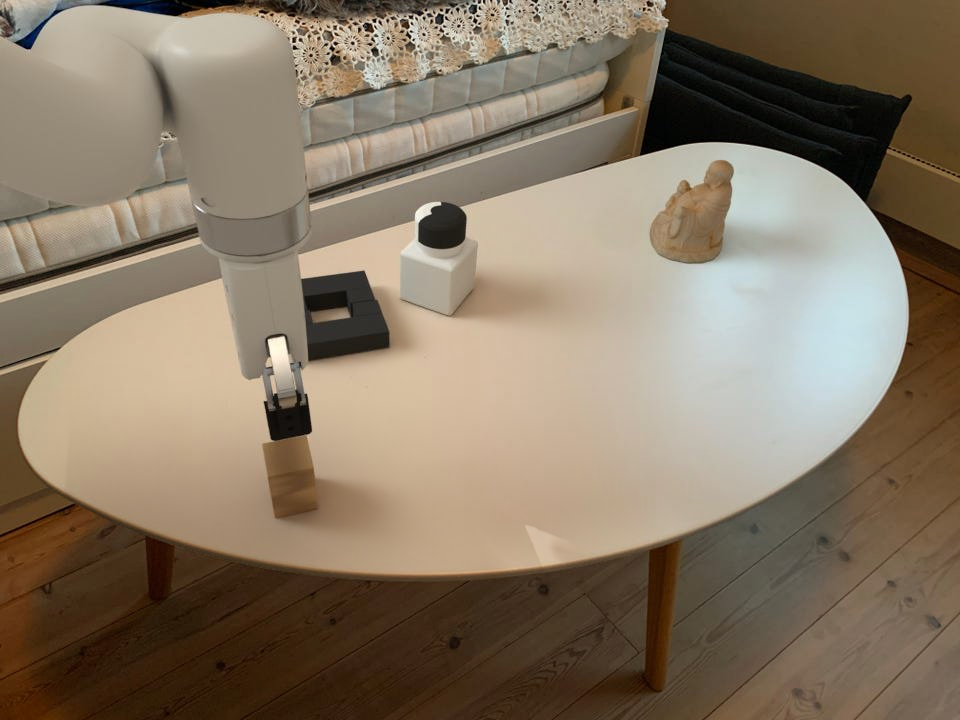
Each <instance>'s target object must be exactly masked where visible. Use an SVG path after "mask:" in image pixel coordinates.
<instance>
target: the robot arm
mask: <svg viewBox="0 0 960 720" xmlns="http://www.w3.org/2000/svg"><path fill="white" fill-rule="evenodd" d="M300 109H301V107H300V100H299V89H298V81H297V70H296V62H295V56H294V50H293V47H292V44H291V41H290V40H289V38H288V36H287V35H286V33H285V32H284V30H283V29H281V28H280V26H279V25H277V24H275V23H274V22H272V21H270V20H268V19H265V18H263V17H260V16H256V15H252V14H251V15H250V14H245V13H238V12H235V13H234V12H217V13H209V14H203V15H197V16H193V17H183V16H173V15H167V14H162V13H161V14H160V13H153V12H147V11H143V10H142V11H141V10H134V9H129V8H123V7H118V6H117V7H116V6H110V5H109V6H108V5H94V4H92V5H91V4H89V5H88V4H87V5H79V6H74V7H71V8H67V9H64V10H62V11H60V12H58V13H57V14H55V15H54V16H52V17H51V18H50V19H49V20H48V21H47V22H46V23H45V24H44V26H42V29H41V30H40V31H39V33H38V34H37V37H36V39H35V41H33V44H32V47H31V48H30V50H29V49H26V48H24V47H23V46H20V45H19V44H17V43H15V42H13V41H11V40H9V39H7V38H5V37H3V36H1V35H0V185H3V186H5V187H8V188H11V189H12V190H15V191H18V192H21V193H22V194H26V195H28V196H31V197H33V198H34V197H35V198H38V199H42V200H45V201H48V202H52V203H57V204H60V205H66V206H74V207H82V208H83V207H86V208H87V207H103V206H107V205H111V204H115V203H118V202H120V201H121V200H125V199H126V198H129V197H130V196H131V195H132V194H133V193H135V192H136V191H137V190H138V189H139V188H141V187H142V185H143V184H144V183H145V181H146V180H147V179H148V177H149V176H150V174H151V172H152V170H153V168H154V165H155V162H156V160H157V155H158V151H159V147H160V142H161V138H162V137H161V136H162V133H170V134H172V135H173V136H174V137H175V138H176V139H177V142H178V146H179V150H180V155H181V159H182V163H183V168H184V172H185V177H186V182H187V186H188V190H189V195H190V201H191V205H192V209H193V215H194V220H195V224H196V228H197V231H198V238H199V241H200V244H201V246H202V247H203V248H204V249H205V250H206V252H208V253H209V254H211V255H212V256H214V257H216V258H218V261H219V268H220V274H221V280H222V285H223V290H224V295H225V299H226V304H227V305H226V306H227V309H228V315H229V319H230V324H231V328H232V333H233V338H234V343H235V348H236V354H237V358H238V363H239V368H240V374H241V376H242V377H244V379H246V380H247V381H252V380H254V379H255V380H256V379H260V378H261V377H262V381H263V386H264V391H265V392H264V393H265V397H266V398H265V399H266V400H263V406H264V411H265V416H266V417H265V418H266V421H267V427H268V433H269V439H270V440H271V442H273V441H279V440H284V439H289V438H294V437H300V436H305V435H306V436H307V435H308V436H309V435H311V434H312V432H313V426H312V425H313V423H312V418H311V411H310V402H309V397H308V393H305V388H304V383H303V377H302V371H304V370H305V369H306V367H307V366H308V365H309V361H308V349H307V334H306V322H305V311H304V301H303V292H302V283H301V279H302V275H301V267H300V258H299V250H300V249H302V248H303V247H304V246H305V245H306V244H307V242H309V241H310V238H311V236H312V233H313V225H312V215H311V205H310V195H309V188H308V187H309V186H308V175H307V167H306V166H307V165H306V159H305V158H306V157H305V149H304V148H305V147H304V139H303V130H302V119H301V110H300ZM291 355H292V356H291ZM290 356H291V359H292V358H293V360H292V362H291V361H290ZM268 359H270V362H271V365H270V366H267V361H268ZM271 376H273V377H274V383H275V388H276V392H275V393H274V391H273V386H272V379H271Z"/></svg>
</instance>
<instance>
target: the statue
mask: <svg viewBox="0 0 960 720" xmlns="http://www.w3.org/2000/svg"><path fill="white" fill-rule="evenodd" d="M734 174H735V169H734V166H733V164H732V163H730V162H729V161H727V160H726V159H717V160H713V161H712V162H710V163H709V166H708V168H707V169H706V171H705V176H704V177H703V182H702V183H699V184H696V185H694V186H693V187H691V184H690V183H689V181H687V180H686V179H683V180H681V181H680V182H679V184H678V185H677V187H676V191H675V192H674V193H672V194H671V195H670V197H669V198H668V200H667V201H666V203H665V206H664V207H665V209H664V210H662V211H659V212H658V214H657V215H656V216H655V217H654V219H653V222H652V223H651V226H650V229H649V238H650V243H651V245H652V247H653V248H654V251H656V253H657V255H660V256H662V257H663V258H666V259H668V260H671V261H676V262H681V263H684V264H686V263H687V264H694V263H697V264H702V263H705V262H710V261H712V260H714V259H716V257H718V256H719V255H720V252H721V251H722V248H723V243H724V233H725V227H726V219H727V216H728V212H729V210H730V207H731V204H732V197H733V185H732V179H733V177H734Z"/></svg>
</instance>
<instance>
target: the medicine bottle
mask: <svg viewBox="0 0 960 720" xmlns="http://www.w3.org/2000/svg"><path fill="white" fill-rule="evenodd" d="M467 221H468V217H467V214H466V212H465V210H463V208H461V207H460V206H458V205H457V204H454V203H452V202H446V201H432V202H428V203H425V204H423V205H421V206H420V207H419V208H418V209H417V210H416V211H415V214H414V238H413V239H412V240H411V241H410V242H409V243H408V244H407V245H406V246H405V247H404V248H403V249H402V250H401V251H400V253H399V299H401V300H402V301H405V302H408V303H411V304H413V305H417V306H418V307H422V308H424V309H428V310H429V311H430V310H431V311H433V312H436V313H439V314H442V315H445V316H446V317H450V316H452V315H453V314H454V313H455V311H456V310H457V309H458V308H459V306H461V304H462V303H463V301H464V300H465V299H466V298H467V296H469V295H470V293H471V291H472V290H473V289H474V288H475V286H476V285H475V284H476V270H477V260H478V246H479V243H478V240H475V239H472V238H469V237H467V223H468V222H467Z"/></svg>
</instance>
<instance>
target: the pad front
mask: <svg viewBox="0 0 960 720" xmlns="http://www.w3.org/2000/svg"><path fill="white" fill-rule="evenodd" d="M352 305H353V317H350V316H349V317H345V318H338V319H331V320H325V321H318V322H314V321H313V318H312V313H311V312H310V310H304V311H305V322H306V334H307V349H308V362H309V361H315V360H321V359H328V358H334V357H340V356H346V355H350V354H357V353H363V352H364V353H365V352H369V351H375V350H380V349H381V350H382V349H388V348H390V329H389V327H388V324H387V321H386V319H385V316H384V314H383V311H382V309H381V306H380V302H379V300H378V299H375V300H371V301H365V302H358V303H353V304H352ZM290 356H291V360H292V361H293V358H292V355H291V354H290Z"/></svg>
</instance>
